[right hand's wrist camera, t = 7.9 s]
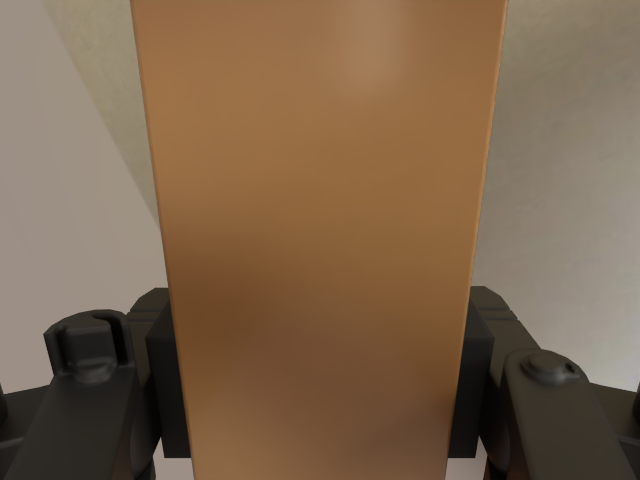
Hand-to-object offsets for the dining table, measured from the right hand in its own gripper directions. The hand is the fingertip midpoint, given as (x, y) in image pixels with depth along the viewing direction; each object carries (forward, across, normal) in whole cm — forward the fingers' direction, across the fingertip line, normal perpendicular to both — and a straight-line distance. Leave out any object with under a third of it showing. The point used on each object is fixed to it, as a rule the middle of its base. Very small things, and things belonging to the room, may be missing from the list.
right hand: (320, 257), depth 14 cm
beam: (+1, 0, -22) cm, 22 cm away
